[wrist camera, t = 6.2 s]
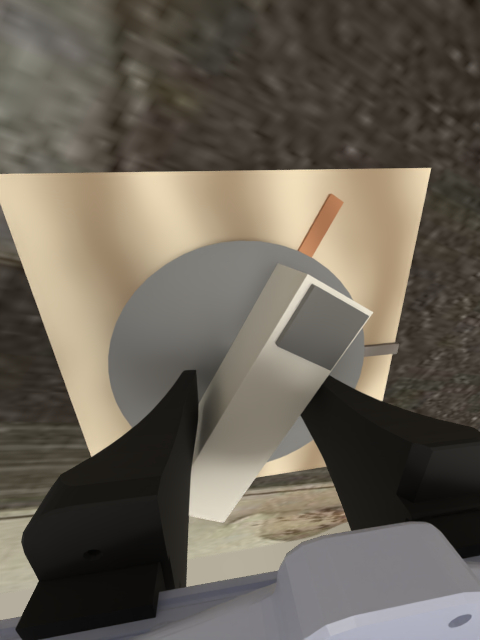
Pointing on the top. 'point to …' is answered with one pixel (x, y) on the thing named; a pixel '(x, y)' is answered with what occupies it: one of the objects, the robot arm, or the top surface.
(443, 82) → the top surface
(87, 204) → the dial board
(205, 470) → the dial
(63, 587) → the robot arm
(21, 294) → the top surface
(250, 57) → the top surface
